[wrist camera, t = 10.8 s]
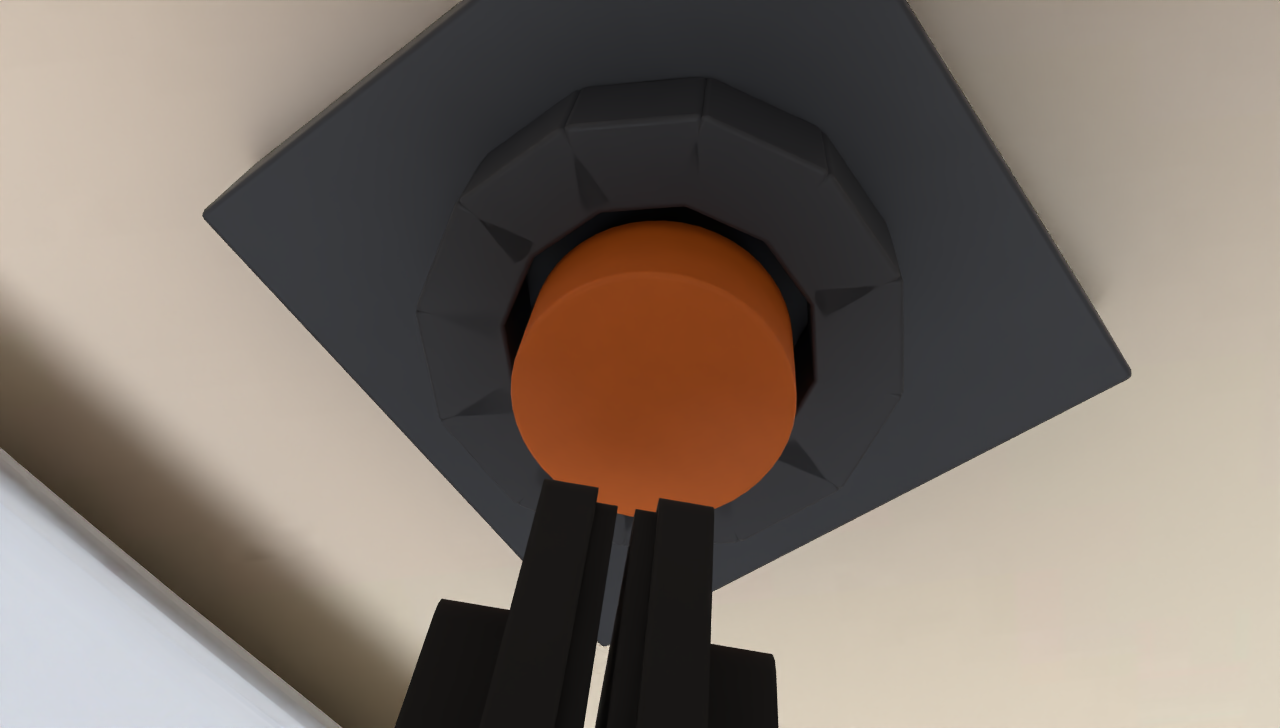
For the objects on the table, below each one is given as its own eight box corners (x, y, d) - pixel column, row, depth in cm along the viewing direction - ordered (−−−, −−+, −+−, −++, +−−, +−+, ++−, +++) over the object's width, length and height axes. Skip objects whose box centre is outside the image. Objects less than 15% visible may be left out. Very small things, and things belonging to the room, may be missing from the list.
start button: (479, 308, 16) (451, 370, 15) (692, 166, 15) (686, 217, 13) (633, 489, 17) (623, 562, 16) (842, 371, 16) (852, 439, 15)
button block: (251, 165, 19) (142, 265, 16) (761, -237, 16) (764, -225, 12) (615, 572, 23) (591, 726, 19) (1097, 312, 19) (1174, 443, 16)
